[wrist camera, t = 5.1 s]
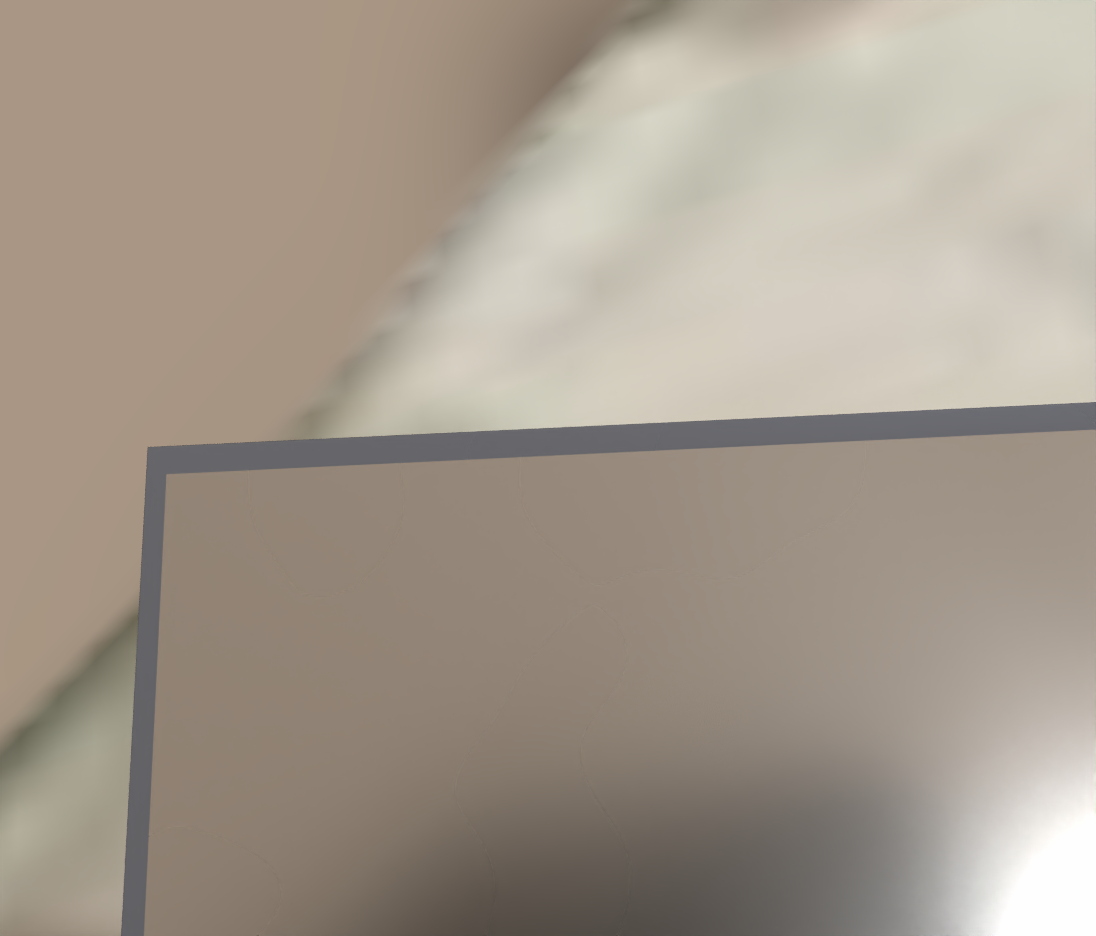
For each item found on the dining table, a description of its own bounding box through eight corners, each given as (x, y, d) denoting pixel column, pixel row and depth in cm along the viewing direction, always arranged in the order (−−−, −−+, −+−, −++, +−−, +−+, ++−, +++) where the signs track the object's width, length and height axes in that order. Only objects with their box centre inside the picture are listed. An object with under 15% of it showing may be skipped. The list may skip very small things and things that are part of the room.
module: (782, 1002, 15) (1971, 2186, 3) (436, 1024, 15) (-53, 2383, 2) (746, 653, 16) (1405, 340, 4) (428, 669, 16) (88, 397, 4)
